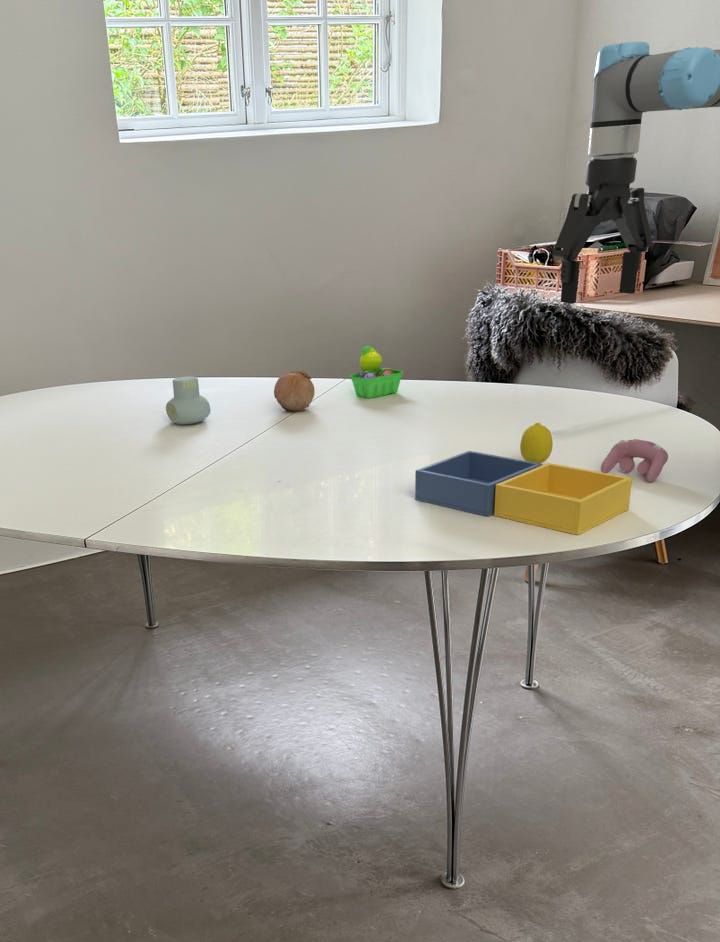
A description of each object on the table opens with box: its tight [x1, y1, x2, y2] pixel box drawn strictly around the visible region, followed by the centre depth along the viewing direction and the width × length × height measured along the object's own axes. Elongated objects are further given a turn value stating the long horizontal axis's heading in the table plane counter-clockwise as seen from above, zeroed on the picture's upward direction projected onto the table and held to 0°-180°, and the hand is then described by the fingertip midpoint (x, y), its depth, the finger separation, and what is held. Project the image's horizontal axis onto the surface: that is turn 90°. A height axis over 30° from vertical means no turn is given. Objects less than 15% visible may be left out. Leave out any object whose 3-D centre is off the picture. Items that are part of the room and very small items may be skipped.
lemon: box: [519, 422, 554, 464], centre depth 169 cm, size 6×6×8 cm
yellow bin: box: [493, 462, 633, 536], centre depth 147 cm, size 15×15×5 cm
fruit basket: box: [349, 345, 404, 399], centre depth 233 cm, size 11×9×11 cm
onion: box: [273, 369, 316, 413], centre depth 224 cm, size 10×9×10 cm
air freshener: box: [165, 375, 211, 426], centre depth 220 cm, size 11×8×10 cm
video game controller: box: [600, 438, 669, 483], centre depth 162 cm, size 10×5×7 cm, turn 41°
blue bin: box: [414, 450, 543, 517], centre depth 157 cm, size 15×15×5 cm
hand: (598, 297), depth 160 cm, fingers open, 13 cm apart
